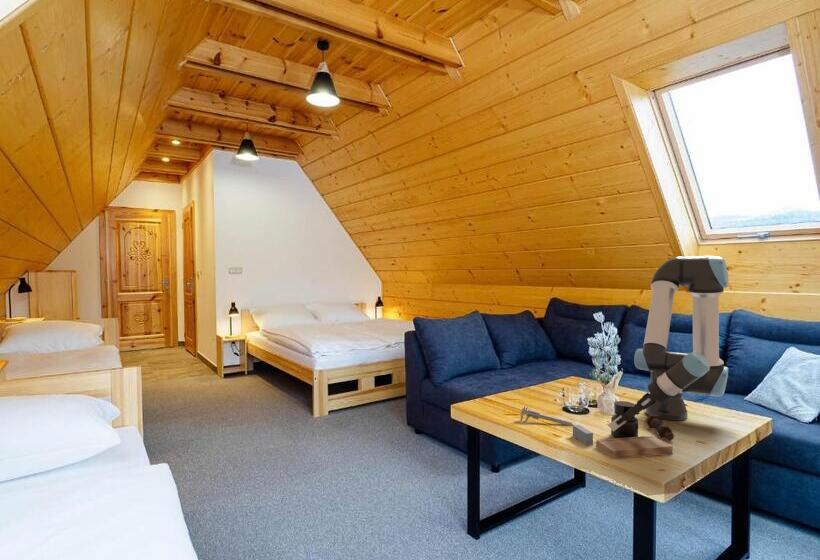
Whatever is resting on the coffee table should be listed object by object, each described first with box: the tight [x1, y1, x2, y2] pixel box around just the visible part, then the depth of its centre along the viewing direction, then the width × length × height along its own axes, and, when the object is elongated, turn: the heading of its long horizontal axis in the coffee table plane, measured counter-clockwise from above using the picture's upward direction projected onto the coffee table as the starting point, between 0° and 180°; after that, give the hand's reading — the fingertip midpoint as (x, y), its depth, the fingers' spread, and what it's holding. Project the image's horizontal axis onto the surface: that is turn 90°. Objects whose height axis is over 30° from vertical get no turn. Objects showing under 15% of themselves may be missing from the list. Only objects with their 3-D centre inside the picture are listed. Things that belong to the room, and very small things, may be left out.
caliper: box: [520, 405, 576, 426], centre depth 186 cm, size 20×1×6 cm, turn 73°
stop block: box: [572, 424, 594, 446], centre depth 167 cm, size 2×9×4 cm, turn 10°
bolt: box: [645, 415, 675, 441], centre depth 173 cm, size 6×5×15 cm
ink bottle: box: [610, 400, 639, 439], centre depth 170 cm, size 10×9×12 cm
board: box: [595, 435, 674, 460], centre depth 158 cm, size 21×10×2 cm, turn 100°
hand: (615, 424), depth 172 cm, fingers closed on ink bottle, 9 cm apart
